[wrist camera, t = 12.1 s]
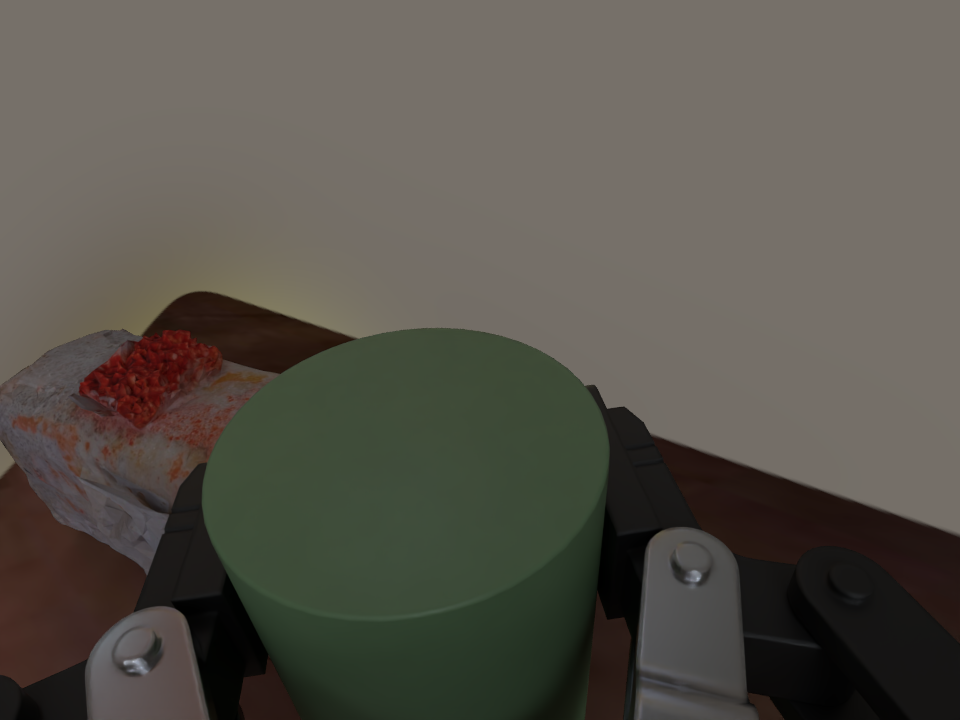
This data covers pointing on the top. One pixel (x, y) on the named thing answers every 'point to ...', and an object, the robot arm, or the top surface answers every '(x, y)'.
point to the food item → (121, 428)
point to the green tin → (418, 528)
